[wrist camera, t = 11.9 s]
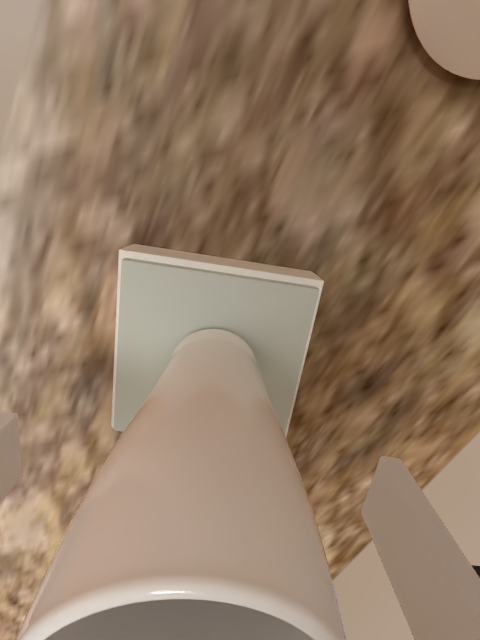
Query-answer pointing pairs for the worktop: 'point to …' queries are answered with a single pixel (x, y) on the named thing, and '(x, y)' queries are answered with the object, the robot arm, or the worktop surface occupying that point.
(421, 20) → the cup
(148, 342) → the coaster
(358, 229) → the worktop surface
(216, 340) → the drinking glass
